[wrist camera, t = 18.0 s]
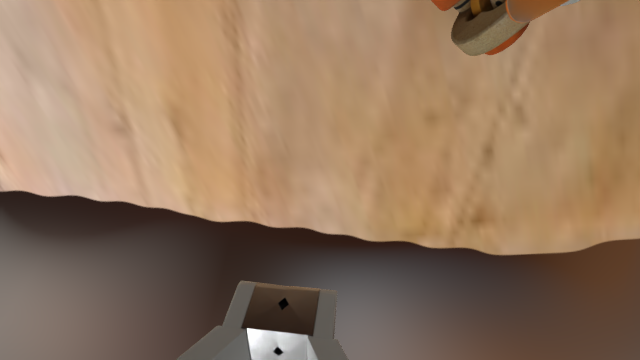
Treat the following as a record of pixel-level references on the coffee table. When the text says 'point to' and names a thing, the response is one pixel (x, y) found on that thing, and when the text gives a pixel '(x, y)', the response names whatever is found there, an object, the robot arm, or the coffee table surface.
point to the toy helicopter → (493, 22)
